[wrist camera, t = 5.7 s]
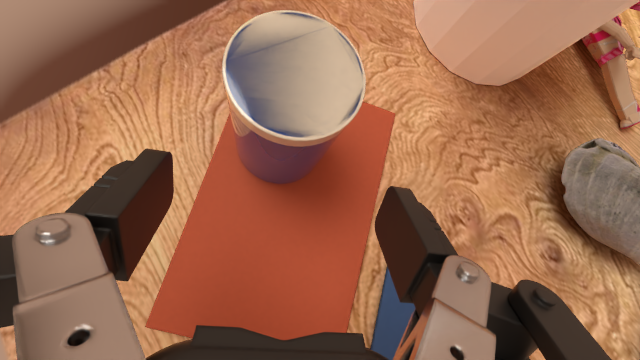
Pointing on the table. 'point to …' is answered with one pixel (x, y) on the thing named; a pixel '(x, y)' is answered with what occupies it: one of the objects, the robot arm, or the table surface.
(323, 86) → the blue cup
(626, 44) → the toy
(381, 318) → the blue mat
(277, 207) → the terracotta mat
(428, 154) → the table surface
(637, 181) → the seashell
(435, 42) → the container
